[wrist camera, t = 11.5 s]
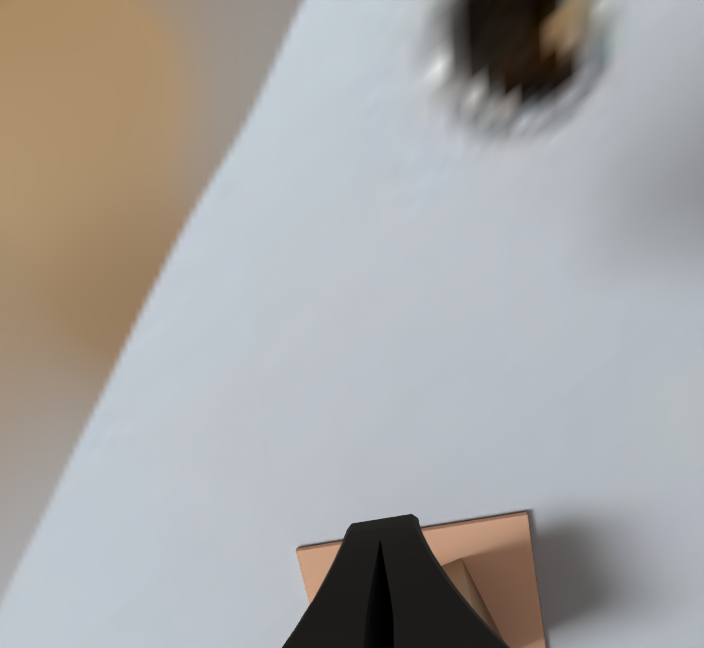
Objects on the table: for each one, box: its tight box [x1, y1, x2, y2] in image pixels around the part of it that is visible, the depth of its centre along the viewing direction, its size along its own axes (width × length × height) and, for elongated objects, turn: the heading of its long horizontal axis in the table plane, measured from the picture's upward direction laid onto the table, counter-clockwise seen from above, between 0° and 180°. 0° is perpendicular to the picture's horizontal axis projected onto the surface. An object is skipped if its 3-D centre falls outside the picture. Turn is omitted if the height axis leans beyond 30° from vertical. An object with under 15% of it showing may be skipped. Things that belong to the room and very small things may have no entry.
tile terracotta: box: [296, 512, 546, 648], centre depth 25 cm, size 9×9×1 cm
